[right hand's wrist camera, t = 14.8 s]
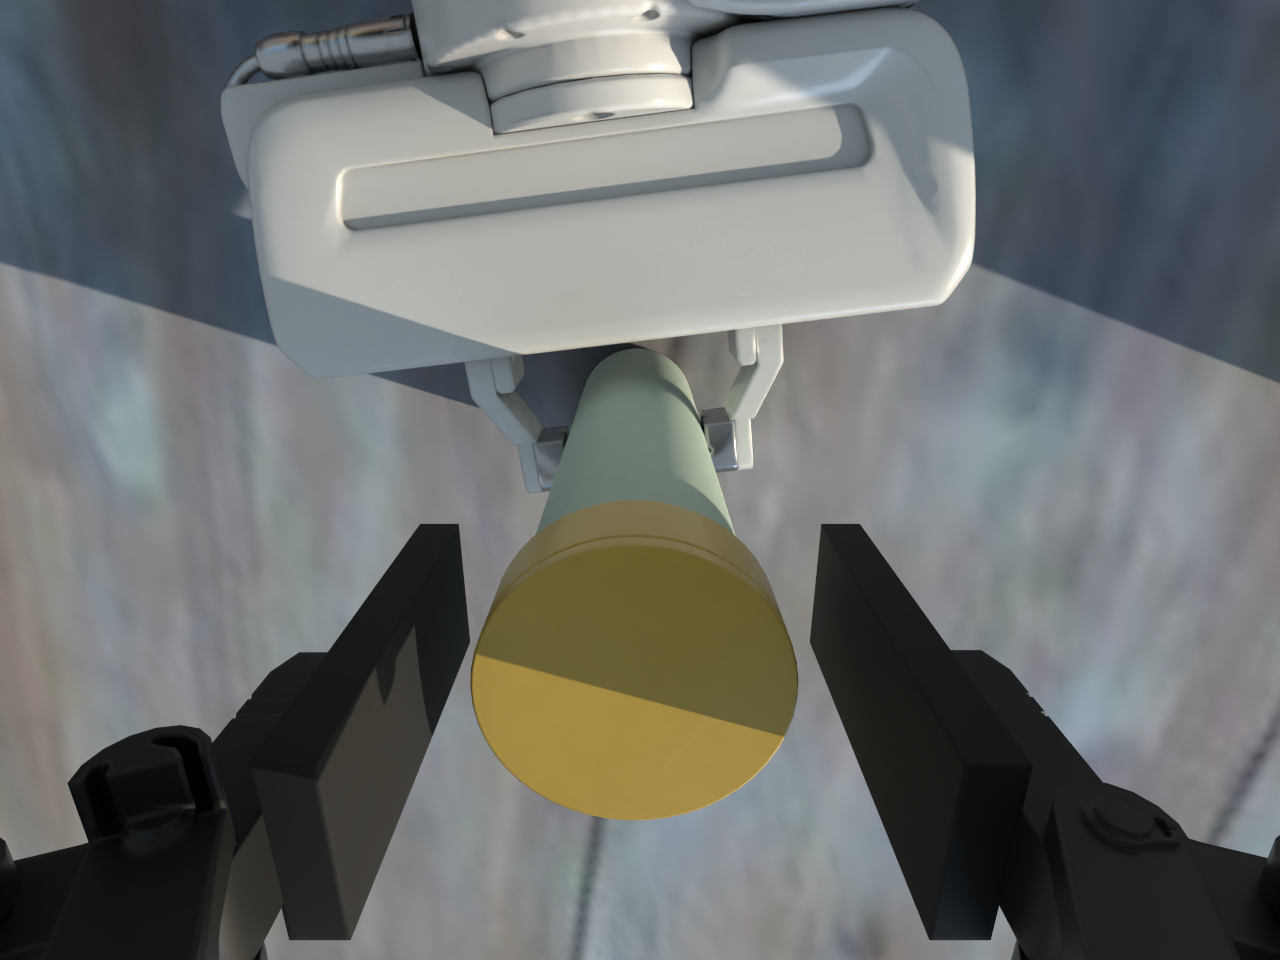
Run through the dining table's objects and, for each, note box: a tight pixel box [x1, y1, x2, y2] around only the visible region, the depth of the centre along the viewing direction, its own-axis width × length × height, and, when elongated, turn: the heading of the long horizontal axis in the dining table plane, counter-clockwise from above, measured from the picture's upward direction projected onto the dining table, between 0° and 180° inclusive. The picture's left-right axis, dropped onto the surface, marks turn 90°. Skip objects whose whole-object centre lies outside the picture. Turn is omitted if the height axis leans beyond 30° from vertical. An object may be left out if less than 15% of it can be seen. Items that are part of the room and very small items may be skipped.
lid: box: [471, 500, 798, 820], centre depth 12 cm, size 5×5×2 cm
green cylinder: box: [536, 348, 735, 536], centre depth 21 cm, size 4×4×19 cm
